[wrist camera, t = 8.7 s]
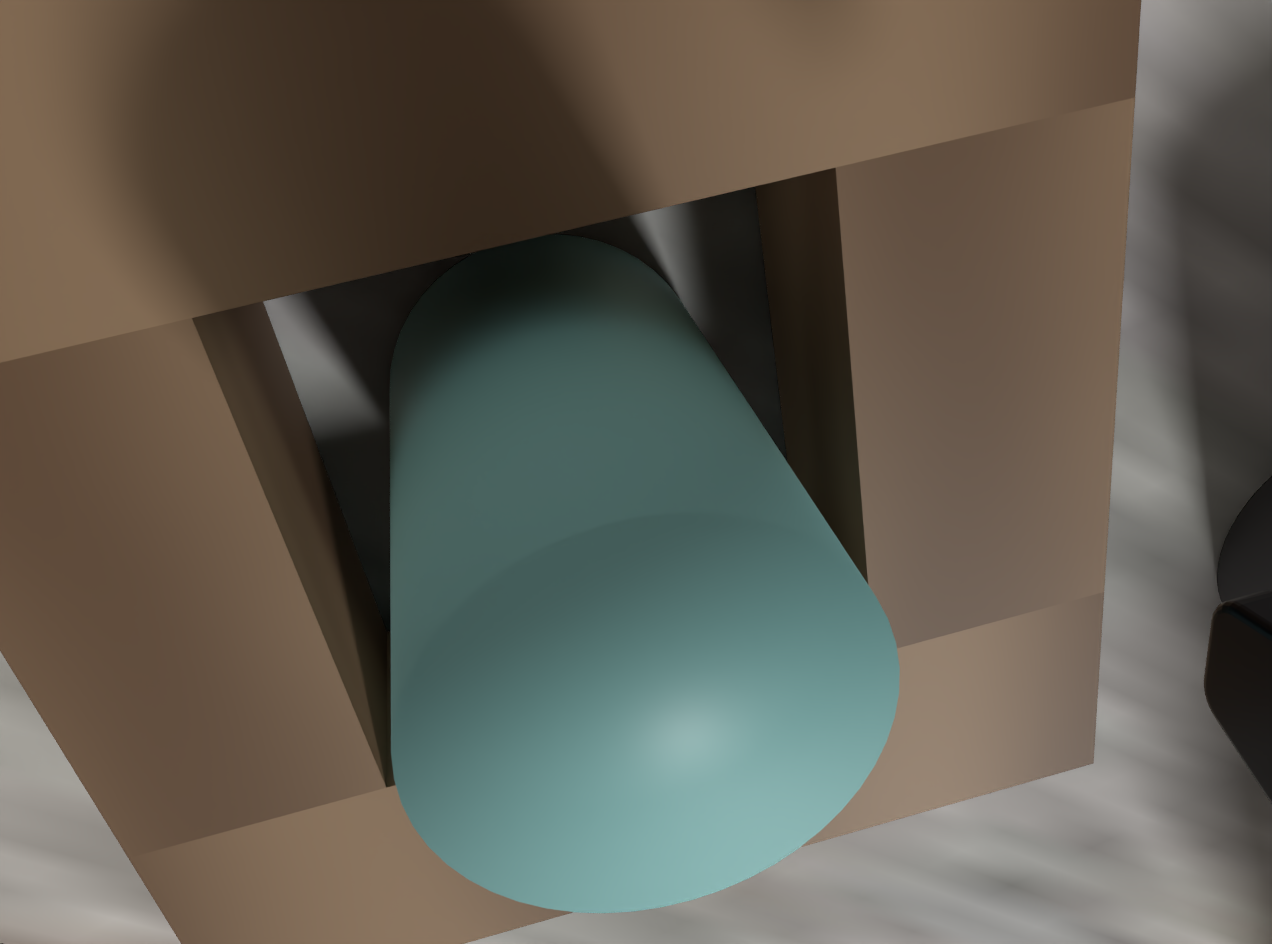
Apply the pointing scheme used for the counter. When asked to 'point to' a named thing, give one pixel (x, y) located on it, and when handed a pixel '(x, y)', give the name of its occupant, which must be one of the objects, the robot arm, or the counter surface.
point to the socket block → (494, 216)
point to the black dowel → (1248, 549)
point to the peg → (610, 596)
